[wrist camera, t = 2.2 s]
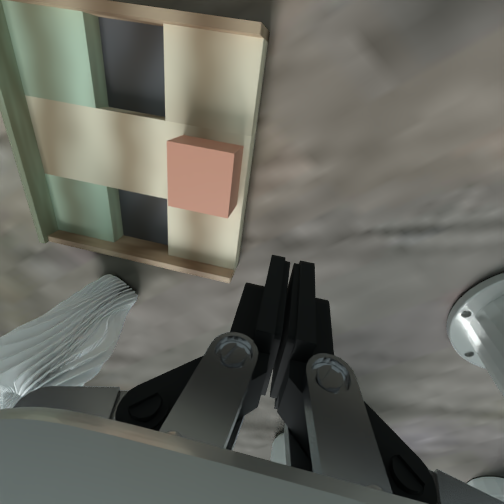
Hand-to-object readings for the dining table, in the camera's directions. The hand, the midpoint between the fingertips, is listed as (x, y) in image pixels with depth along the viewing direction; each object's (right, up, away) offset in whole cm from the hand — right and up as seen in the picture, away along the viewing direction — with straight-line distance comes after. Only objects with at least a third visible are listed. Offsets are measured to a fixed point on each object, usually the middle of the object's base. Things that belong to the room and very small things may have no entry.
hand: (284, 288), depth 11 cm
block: (-5, +8, +12) cm, 16 cm away
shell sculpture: (-18, -3, +25) cm, 31 cm away
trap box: (-11, +11, +15) cm, 21 cm away
